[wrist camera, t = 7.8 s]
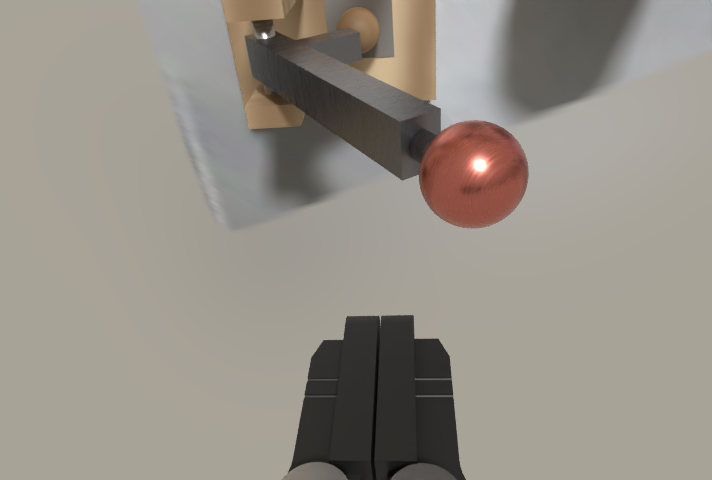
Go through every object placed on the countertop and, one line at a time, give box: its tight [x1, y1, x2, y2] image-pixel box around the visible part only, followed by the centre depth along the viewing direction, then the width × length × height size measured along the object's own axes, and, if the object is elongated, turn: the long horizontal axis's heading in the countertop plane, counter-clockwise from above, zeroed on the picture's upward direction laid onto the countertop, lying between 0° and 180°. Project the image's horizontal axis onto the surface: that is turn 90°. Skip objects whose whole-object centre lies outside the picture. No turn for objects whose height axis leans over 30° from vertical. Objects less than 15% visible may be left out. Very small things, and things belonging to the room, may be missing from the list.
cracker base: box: [222, 0, 436, 129], centre depth 35 cm, size 14×11×10 cm
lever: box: [244, 19, 528, 228], centre depth 26 cm, size 7×4×21 cm
